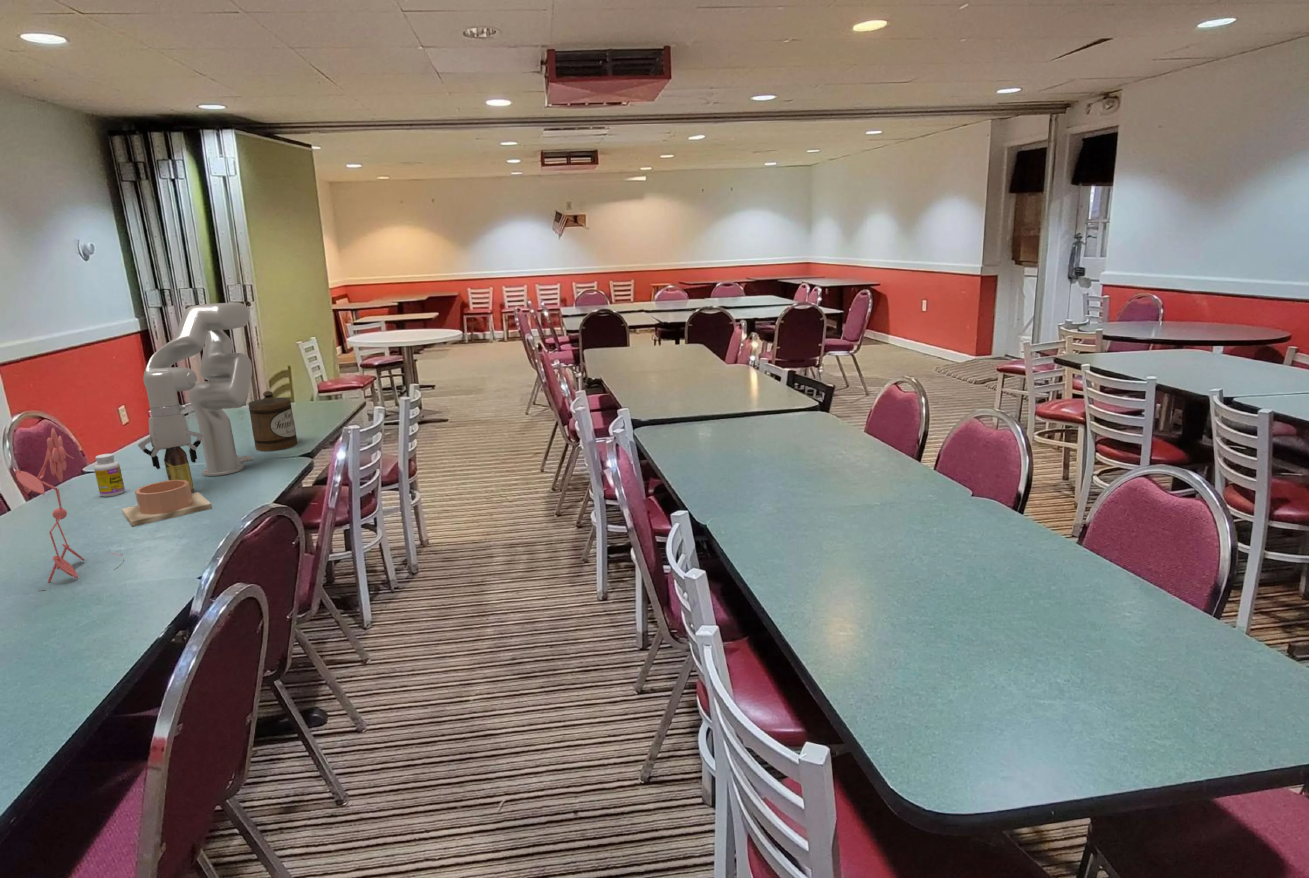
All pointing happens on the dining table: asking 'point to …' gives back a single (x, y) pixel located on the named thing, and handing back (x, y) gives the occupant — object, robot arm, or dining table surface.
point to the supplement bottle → (108, 476)
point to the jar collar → (164, 496)
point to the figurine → (35, 484)
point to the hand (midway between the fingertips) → (176, 465)
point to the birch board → (138, 518)
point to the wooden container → (272, 423)
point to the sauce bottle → (178, 465)
